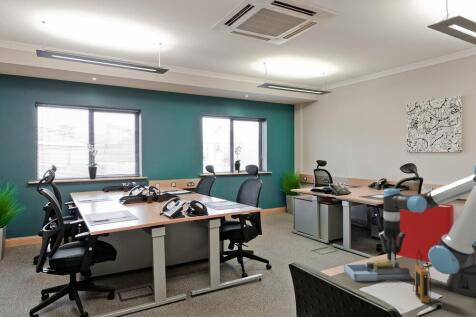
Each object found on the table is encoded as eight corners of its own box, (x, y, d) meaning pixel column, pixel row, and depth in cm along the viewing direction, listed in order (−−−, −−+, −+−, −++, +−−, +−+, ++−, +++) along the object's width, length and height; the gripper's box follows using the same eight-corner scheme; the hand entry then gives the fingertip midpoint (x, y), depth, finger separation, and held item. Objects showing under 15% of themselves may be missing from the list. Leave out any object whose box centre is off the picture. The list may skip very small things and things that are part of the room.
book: (396, 255, 183) (396, 201, 183) (401, 252, 189) (401, 200, 188) (450, 266, 163) (450, 207, 163) (454, 263, 169) (454, 205, 168)
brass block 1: (384, 271, 152) (384, 262, 152) (376, 271, 151) (376, 262, 151) (380, 268, 156) (380, 259, 156) (373, 268, 155) (373, 259, 155)
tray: (377, 280, 147) (377, 273, 147) (354, 281, 146) (354, 274, 146) (364, 270, 160) (364, 263, 160) (344, 271, 159) (344, 264, 159)
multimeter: (453, 309, 119) (453, 258, 118) (425, 307, 121) (424, 257, 120) (436, 293, 133) (436, 247, 133) (411, 291, 135) (411, 246, 135)
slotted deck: (410, 279, 148) (410, 269, 148) (377, 280, 147) (377, 270, 147) (396, 269, 160) (396, 261, 160) (366, 270, 159) (366, 262, 159)
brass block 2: (392, 271, 152) (392, 262, 152) (384, 271, 152) (384, 262, 152) (388, 268, 156) (388, 259, 156) (380, 268, 156) (380, 259, 156)
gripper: (400, 217, 158) (400, 263, 158) (375, 218, 157) (375, 263, 158) (408, 221, 150) (408, 268, 150) (382, 221, 150) (382, 269, 150)
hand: (391, 266), depth 154 cm, fingers closed
